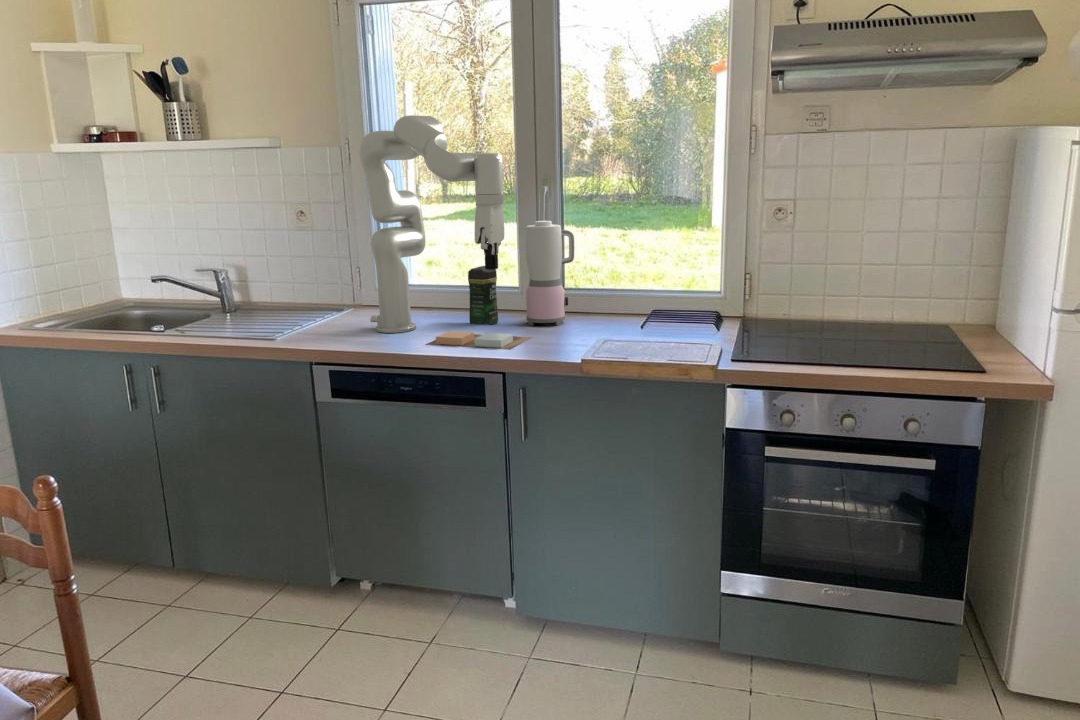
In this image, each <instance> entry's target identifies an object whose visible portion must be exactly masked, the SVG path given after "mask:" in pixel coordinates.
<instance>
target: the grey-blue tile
mask: <svg viewBox="0 0 1080 720" xmlns="http://www.w3.org/2000/svg"><path fill="white" fill-rule="evenodd" d="M481 335H482V336H480V337H478V338H475V346H481V347H497V348H502V347H504V346H505V345H507V344H509V343H511V342H513V336H514V334H510V333H491V332H490V333H489V332H486V333H484V334H481Z"/></svg>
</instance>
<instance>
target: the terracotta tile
mask: <svg viewBox="0 0 1080 720" xmlns="http://www.w3.org/2000/svg"><path fill="white" fill-rule="evenodd" d="M474 334H475V332H473V331H455V330H454V331H453V330H448V331H445V332H443V333H441V334H439V335H436V336H435V340H436V344H448V345H463V344H466V343H468V342H470V341H472V340H474Z"/></svg>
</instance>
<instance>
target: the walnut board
mask: <svg viewBox="0 0 1080 720" xmlns="http://www.w3.org/2000/svg"><path fill="white" fill-rule="evenodd" d="M482 335H483V334H481V333H479V334H477V333H474V340H472V341H470V342H468V343H466V344H463V345H448V344H436V339H434V340H432V341H430V342H428V343H426V344H425V346H426V345H428V346H440V347H441V346H443V347H458V348H459V347H460V348H476V349H477V348H478V349H490V350H491V349H493V350H513V349H514V348H516V347H518V346H519V345H522V344H523V343H525V342H527V341H528V340H530V339H532V338H533V336H516V335H515V336H514V335H513V342H511V343H509V344H507V345H505V346H504V347H502V348H497V347H481V346H475V338H478V337H480V336H482Z"/></svg>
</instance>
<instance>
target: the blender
mask: <svg viewBox="0 0 1080 720" xmlns="http://www.w3.org/2000/svg"><path fill="white" fill-rule="evenodd" d="M523 229H524V230H525V256H526V257H525V258H526V266H527V271H528V274H529V275H528V276H529V283H528V286H527V288H526V292H525V294H526V295H525V296H526V297H525V301H526V302H525V303H526V304H525V306H526V315H525V316H526V321H527V323H528V326H530V325H533V326H534V325H535V324H534V323H537V324H549V323H551V324H552V323H555V326H561V325H562V323H563V321H564V320H565V319H566V314H565V312H566V311H565V310H566V309H565V307H566V306H569V297H568V296H566V295H565V293H566V292H565V288H564V287H563V285H562V283H561V271H562V265H564V264H569V263H572V262H573V261H574V259H575V236H574V233H573V232H572V231H571V230H567V229H562V226H561V225H560V224H553V223H552V220H537V221H535V222H534V224H532V225H531V224H530V225H527V226H523ZM562 236H565V237H567V238H568V257H565V258H563V237H562Z"/></svg>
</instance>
